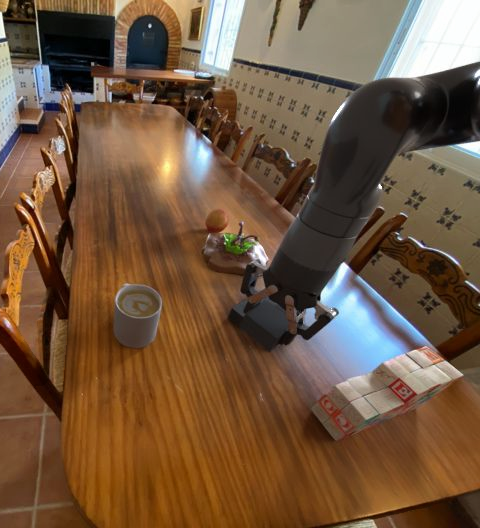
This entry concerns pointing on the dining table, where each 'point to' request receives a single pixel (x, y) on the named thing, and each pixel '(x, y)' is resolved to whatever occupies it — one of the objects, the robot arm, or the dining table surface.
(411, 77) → the robot arm
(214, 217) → the fruit
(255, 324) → the pad
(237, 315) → the notch pad
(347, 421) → the stack of blocks
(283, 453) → the dining table surface
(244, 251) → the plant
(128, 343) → the coffee mug
